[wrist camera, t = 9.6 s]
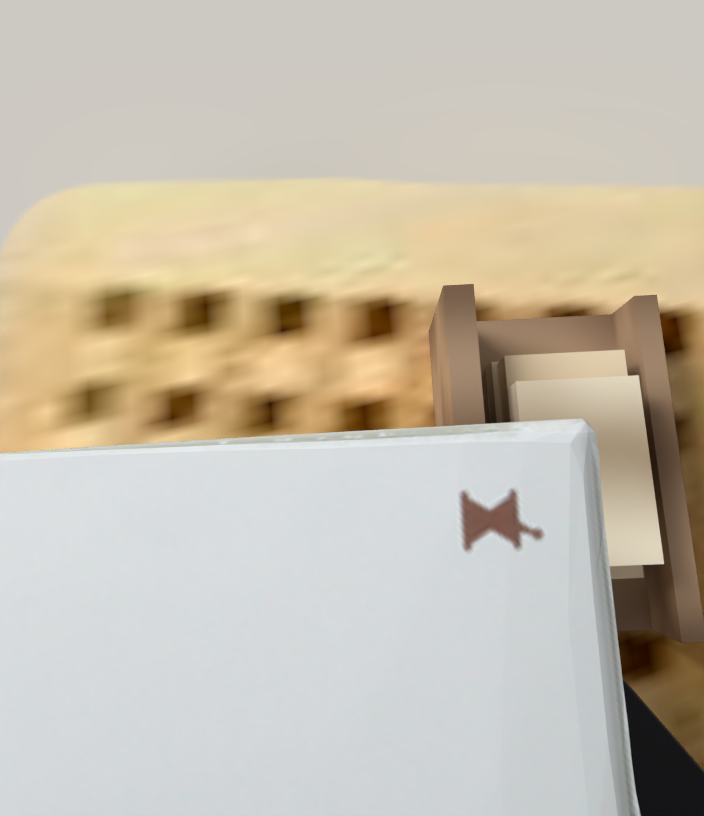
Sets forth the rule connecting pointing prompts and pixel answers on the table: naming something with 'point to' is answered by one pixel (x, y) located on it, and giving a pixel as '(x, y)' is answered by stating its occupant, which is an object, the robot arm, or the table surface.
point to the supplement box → (312, 627)
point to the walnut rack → (645, 356)
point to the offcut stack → (615, 430)
